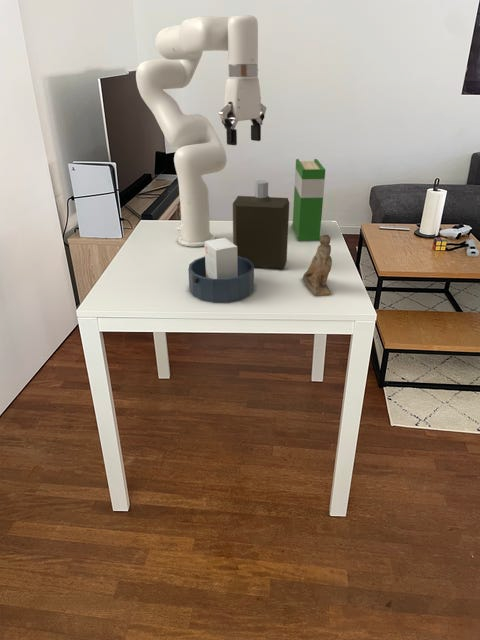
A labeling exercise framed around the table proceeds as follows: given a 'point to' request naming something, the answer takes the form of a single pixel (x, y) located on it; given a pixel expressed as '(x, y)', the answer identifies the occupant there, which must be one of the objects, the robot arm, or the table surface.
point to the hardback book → (308, 199)
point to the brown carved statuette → (319, 269)
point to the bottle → (261, 228)
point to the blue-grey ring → (221, 282)
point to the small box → (221, 259)
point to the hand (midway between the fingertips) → (244, 142)
